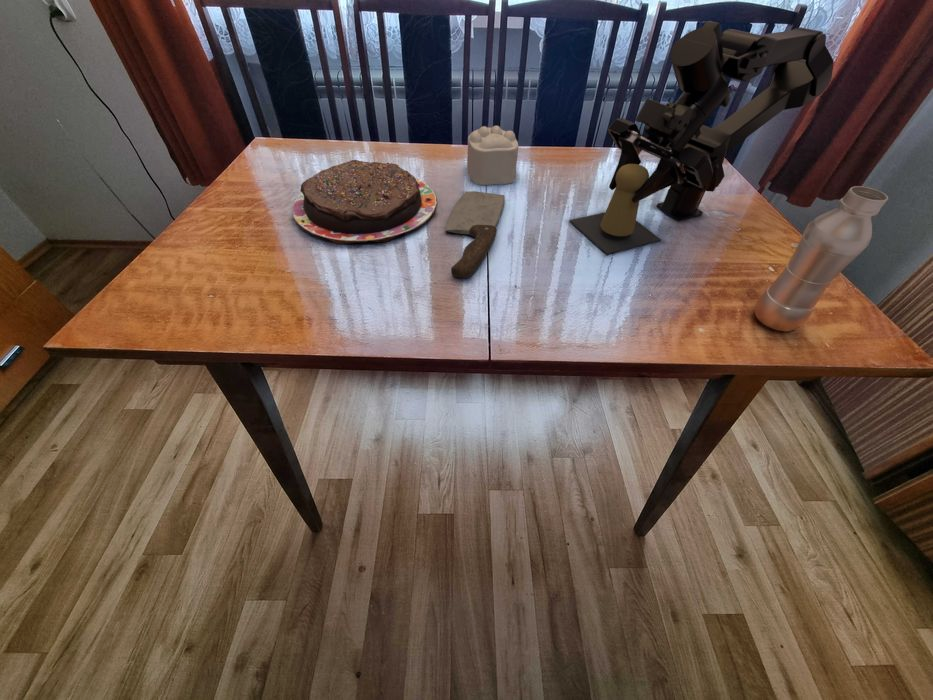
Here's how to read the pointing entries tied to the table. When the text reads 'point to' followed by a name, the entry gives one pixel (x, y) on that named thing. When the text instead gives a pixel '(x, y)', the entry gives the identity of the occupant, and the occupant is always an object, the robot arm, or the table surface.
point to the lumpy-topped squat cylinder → (492, 156)
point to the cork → (624, 201)
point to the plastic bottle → (820, 259)
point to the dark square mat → (611, 242)
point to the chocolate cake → (363, 202)
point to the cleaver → (475, 227)
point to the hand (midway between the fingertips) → (621, 194)
